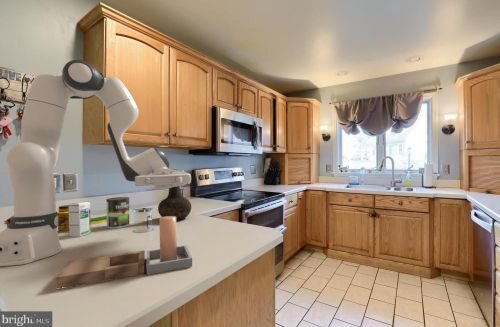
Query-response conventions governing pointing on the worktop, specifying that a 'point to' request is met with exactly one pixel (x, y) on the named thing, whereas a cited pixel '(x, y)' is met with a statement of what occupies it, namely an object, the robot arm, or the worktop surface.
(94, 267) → the partly covered box
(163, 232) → the peach cylinder
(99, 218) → the dish sponge
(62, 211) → the condiment
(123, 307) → the worktop surface
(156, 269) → the grey square frame
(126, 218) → the coffee can
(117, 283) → the worktop surface
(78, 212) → the syrup box
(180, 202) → the dark brown vase
